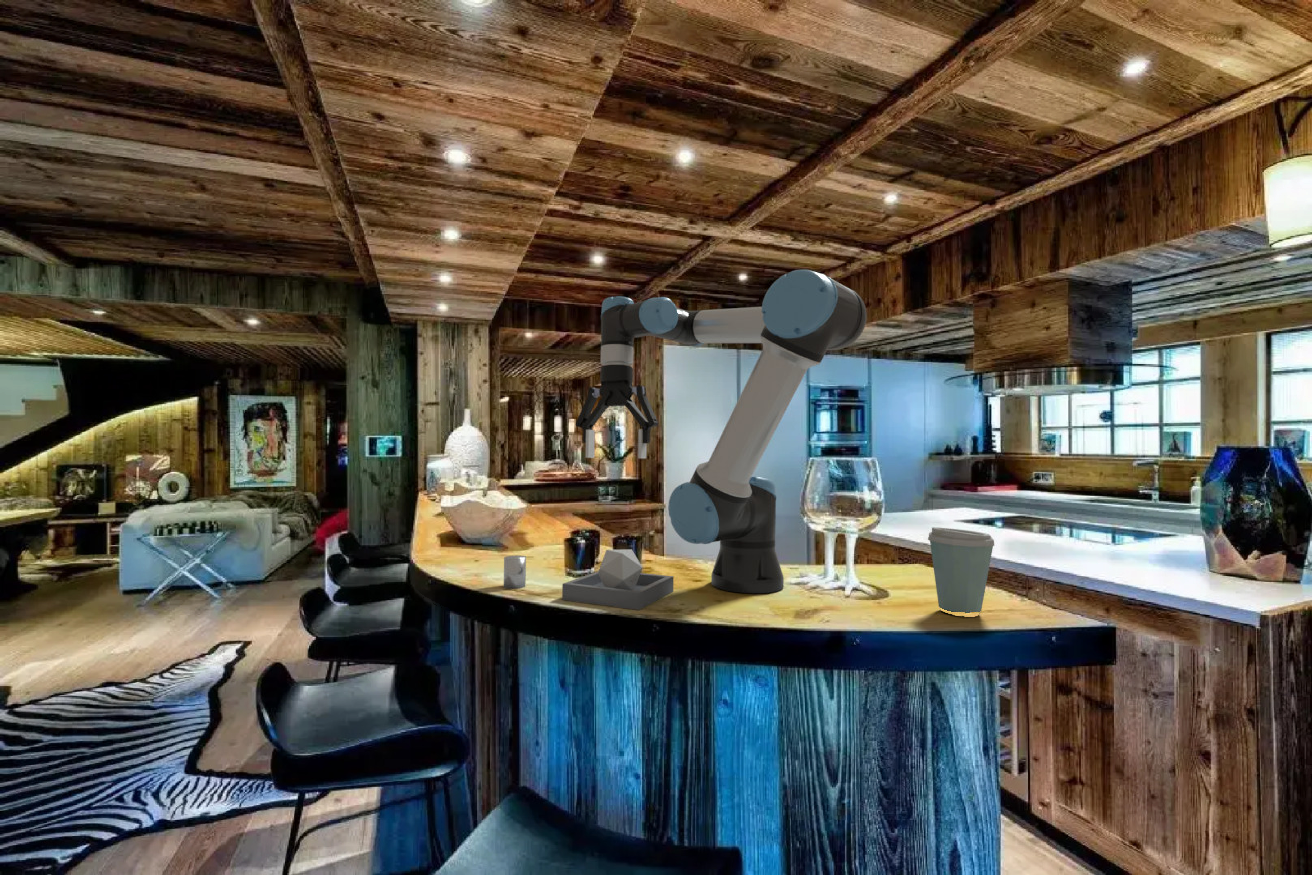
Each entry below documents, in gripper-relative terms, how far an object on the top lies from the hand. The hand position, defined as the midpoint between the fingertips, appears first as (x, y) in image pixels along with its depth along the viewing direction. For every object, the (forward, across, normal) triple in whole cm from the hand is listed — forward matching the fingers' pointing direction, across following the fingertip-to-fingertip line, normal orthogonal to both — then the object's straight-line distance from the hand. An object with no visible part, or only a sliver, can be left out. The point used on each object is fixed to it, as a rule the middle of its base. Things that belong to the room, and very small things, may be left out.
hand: (615, 458), depth 132 cm
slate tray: (+27, -10, +16) cm, 33 cm away
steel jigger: (+27, +13, +19) cm, 35 cm away
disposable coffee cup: (+27, -70, 0) cm, 75 cm away
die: (+26, -10, +16) cm, 32 cm away
